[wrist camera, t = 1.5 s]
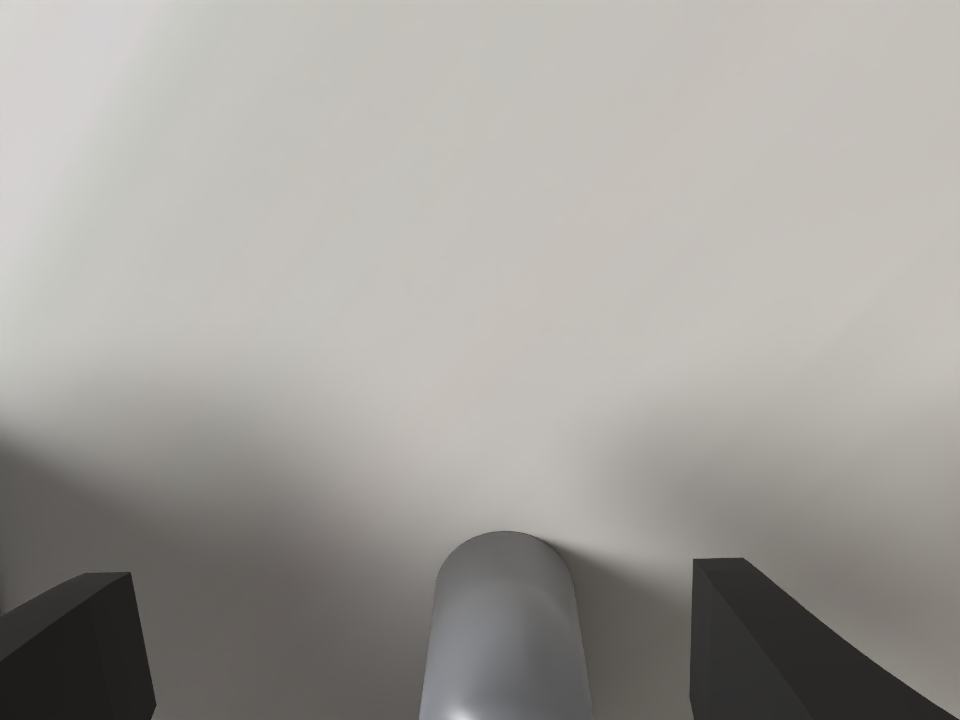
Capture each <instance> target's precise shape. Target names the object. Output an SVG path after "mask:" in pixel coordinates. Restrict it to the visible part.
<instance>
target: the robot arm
mask: <svg viewBox="0 0 960 720" xmlns="http://www.w3.org/2000/svg"><path fill="white" fill-rule="evenodd" d="M690 702H691V706H692V711H693V716H694V720H959V719H957V718H956V717H954V716H953V715H951V714H949V713H948V712H946V711H945V710H943V709H942V708H940V707H939V706H937V705H935V704H934V703H932V702H931V701H929V700H928V699H926V698H925V697H923V696H922V695H921V694H919V693H918V692H916V691H915V690H913V689H912V688H910V687H909V686H908V685H906V684H905V683H903V682H902V681H900V680H899V679H897V678H896V677H895V676H893V675H892V674H890V673H889V672H887V671H886V670H884V669H883V668H882V667H880V666H879V665H878V664H876V663H875V662H873V661H872V660H871V659H869V658H868V657H867V656H865V655H864V654H863V653H861V652H860V651H859V650H857V649H856V648H855V647H853V646H852V645H851V644H849V643H848V642H847V641H845V640H844V639H843V638H842V637H840V636H839V635H838V634H836V633H835V632H834V631H833V630H831V629H830V628H829V627H827V626H826V625H825V624H824V623H822V622H821V621H820V620H819V619H817V618H816V617H815V616H814V615H813V614H811V613H810V612H809V611H808V610H806V609H805V608H804V607H803V606H801V605H800V604H799V603H798V602H797V601H795V600H794V599H793V598H792V597H791V596H789V595H788V594H787V593H786V592H785V591H783V590H782V589H781V588H780V587H779V586H777V585H776V584H775V583H774V582H773V581H771V580H770V579H769V578H768V577H767V576H765V575H764V574H763V573H762V572H760V571H759V570H758V569H757V568H756V567H754V566H753V565H752V564H751V563H749V562H748V561H747V560H745V559H744V558H711V559H693V588H692V625H691V662H690ZM155 707H156V701H155V695H154V690H153V685H152V680H151V675H150V670H149V665H148V659H147V654H146V649H145V644H144V639H143V634H142V628H141V623H140V618H139V613H138V608H137V603H136V598H135V592H134V587H133V582H132V577H131V572H115V573H84V574H82V575H80V576H77V577H75V578H73V579H70V580H68V581H66V582H64V583H62V584H60V585H58V586H56V587H54V588H52V589H50V590H48V591H46V592H45V593H43V594H41V595H39V596H37V597H35V598H33V599H32V600H30V601H28V602H26V603H24V604H23V605H21V606H19V607H17V608H15V609H14V610H12V611H10V612H8V613H7V614H5V615H3V616H1V617H0V720H151V718H152V715H153V712H154V710H155Z"/></svg>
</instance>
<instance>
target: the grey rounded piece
mask: <svg viewBox="0 0 960 720" xmlns="http://www.w3.org/2000/svg"><path fill="white" fill-rule="evenodd" d="M419 720H594V713H593V707H592V700H591V694H590V688H589V681H588V675H587V668H586V662H585V655H584V649H583V642H582V636H581V630H580V623H579V617H578V610H577V604H576V597H575V591H574V585H573V580H572V576H571V573H570V571H569V568H568V566H567V565H566V563H565V561H564V560H563V559H562V557H561V556H560V555H559V554H558V553H557V552H556V551H555V550H554V549H553V548H552V547H550V546H549V545H548V544H546V543H545V542H543V541H541V540H539V539H537V538H535V537H533V536H530V535H527V534H523V533H519V532H511V531H498V532H490V533H486V534H482V535H479V536H476V537H474V538H472V539H470V540H468V541H466V542H464V543H463V544H461V545H460V546H459V547H457V548H456V549H455V550H454V551H453V552H452V553H451V554H450V555H449V556H448V558H447V559H446V561H445V562H444V564H443V565H442V567H441V569H440V572H439V574H438V578H437V582H436V590H435V598H434V605H433V613H432V621H431V629H430V637H429V644H428V652H427V660H426V668H425V676H424V683H423V691H422V699H421V707H420V714H419Z"/></svg>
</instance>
